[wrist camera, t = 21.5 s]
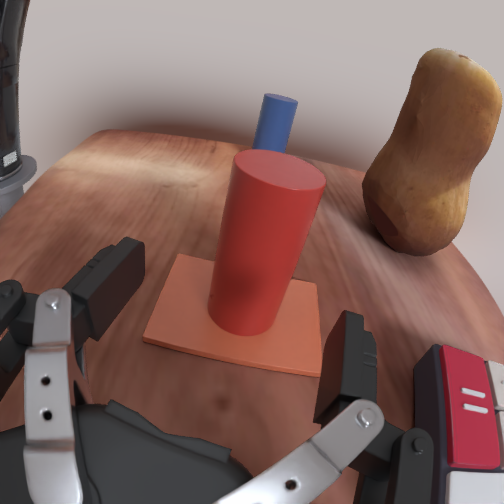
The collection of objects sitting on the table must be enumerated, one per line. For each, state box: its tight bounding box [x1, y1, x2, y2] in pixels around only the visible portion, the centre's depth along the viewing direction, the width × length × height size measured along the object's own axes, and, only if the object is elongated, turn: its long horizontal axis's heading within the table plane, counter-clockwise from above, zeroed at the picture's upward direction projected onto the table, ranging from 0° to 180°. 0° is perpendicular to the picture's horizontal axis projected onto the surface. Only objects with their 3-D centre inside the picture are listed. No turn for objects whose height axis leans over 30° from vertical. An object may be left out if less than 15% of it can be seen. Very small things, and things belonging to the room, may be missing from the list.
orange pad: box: [143, 253, 322, 377], centre depth 23 cm, size 12×9×1 cm
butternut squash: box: [362, 48, 502, 256], centre depth 30 cm, size 14×13×25 cm
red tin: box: [208, 149, 326, 336], centre depth 19 cm, size 5×5×11 cm
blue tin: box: [252, 94, 298, 153], centre depth 45 cm, size 5×5×11 cm
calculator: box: [414, 344, 504, 504], centre depth 14 cm, size 11×4×15 cm
